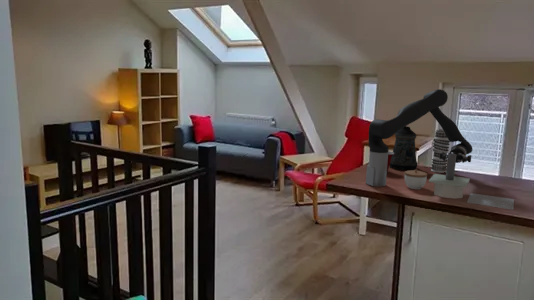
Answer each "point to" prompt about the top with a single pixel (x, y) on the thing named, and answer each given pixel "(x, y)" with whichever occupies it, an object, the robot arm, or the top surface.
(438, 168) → the decorative candle
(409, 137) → the beer stein
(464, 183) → the lid
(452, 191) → the bowl
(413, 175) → the lidded jar
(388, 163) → the plastic cup
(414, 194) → the top surface
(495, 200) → the mat
